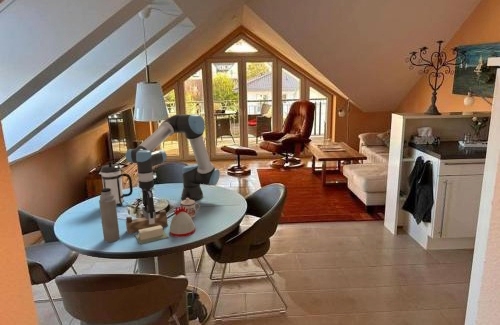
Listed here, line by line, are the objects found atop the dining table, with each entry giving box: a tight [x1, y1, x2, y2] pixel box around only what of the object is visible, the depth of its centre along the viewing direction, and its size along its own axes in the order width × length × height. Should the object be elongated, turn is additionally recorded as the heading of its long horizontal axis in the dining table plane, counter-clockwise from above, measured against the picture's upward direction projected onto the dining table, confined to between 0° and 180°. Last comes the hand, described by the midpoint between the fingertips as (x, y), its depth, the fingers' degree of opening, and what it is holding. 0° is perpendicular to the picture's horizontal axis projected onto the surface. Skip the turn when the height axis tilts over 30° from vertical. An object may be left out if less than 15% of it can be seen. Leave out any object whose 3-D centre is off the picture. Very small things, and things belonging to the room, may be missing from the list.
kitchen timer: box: [169, 205, 196, 238], centre depth 205 cm, size 14×14×15 cm
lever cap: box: [141, 205, 157, 219], centre depth 197 cm, size 5×8×6 cm, turn 29°
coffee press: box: [98, 161, 134, 207], centre depth 250 cm, size 17×16×30 cm
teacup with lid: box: [180, 198, 201, 219], centre depth 228 cm, size 12×9×12 cm
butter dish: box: [134, 225, 169, 245], centre depth 200 cm, size 15×12×5 cm
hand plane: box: [125, 209, 169, 235], centre depth 211 cm, size 22×5×8 cm, turn 119°
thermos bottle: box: [98, 188, 121, 243], centre depth 196 cm, size 8×8×28 cm
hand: (149, 220), depth 198 cm, fingers closed on lever cap, 8 cm apart
